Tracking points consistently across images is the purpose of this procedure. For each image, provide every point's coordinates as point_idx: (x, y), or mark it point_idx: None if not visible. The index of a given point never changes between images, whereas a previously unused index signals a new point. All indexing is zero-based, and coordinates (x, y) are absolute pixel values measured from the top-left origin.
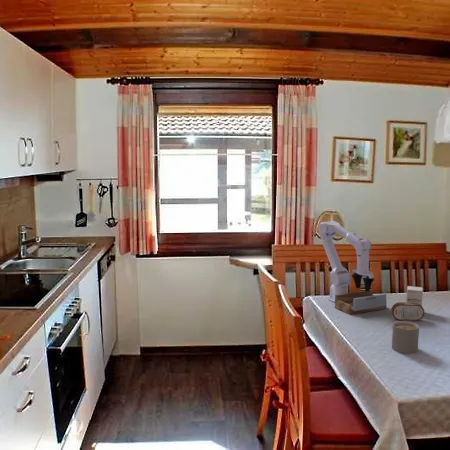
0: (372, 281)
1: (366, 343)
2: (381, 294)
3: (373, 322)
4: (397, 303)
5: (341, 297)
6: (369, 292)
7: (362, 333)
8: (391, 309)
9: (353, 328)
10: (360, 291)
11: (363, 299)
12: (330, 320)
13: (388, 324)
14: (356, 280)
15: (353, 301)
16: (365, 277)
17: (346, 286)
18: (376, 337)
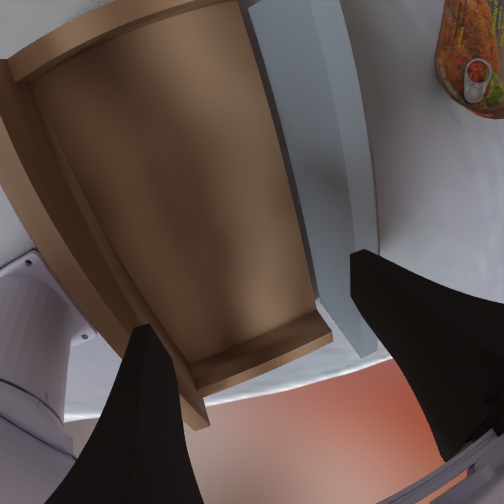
0: (500, 309)
1: (501, 284)
2: (330, 41)
3: (435, 215)
4: None
5: (188, 388)
6: (9, 106)
7: (472, 283)
8: (476, 109)
9: None
10: (50, 245)
11: None
12: (348, 370)
13: (470, 159)
14: (183, 462)
15: (352, 342)
16: (462, 446)
17: (32, 397)
18: (500, 252)
